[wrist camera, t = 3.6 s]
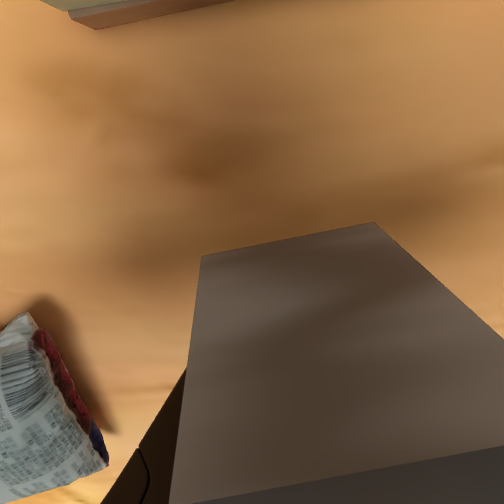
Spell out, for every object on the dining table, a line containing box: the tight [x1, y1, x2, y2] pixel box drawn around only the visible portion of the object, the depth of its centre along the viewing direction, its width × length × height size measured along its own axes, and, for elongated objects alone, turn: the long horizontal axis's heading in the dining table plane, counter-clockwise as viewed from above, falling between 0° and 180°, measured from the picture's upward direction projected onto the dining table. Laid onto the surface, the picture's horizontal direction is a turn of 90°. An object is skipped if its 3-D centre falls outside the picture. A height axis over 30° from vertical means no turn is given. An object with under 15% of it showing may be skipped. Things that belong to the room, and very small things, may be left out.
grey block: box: [169, 222, 504, 504], centre depth 7 cm, size 5×5×6 cm
